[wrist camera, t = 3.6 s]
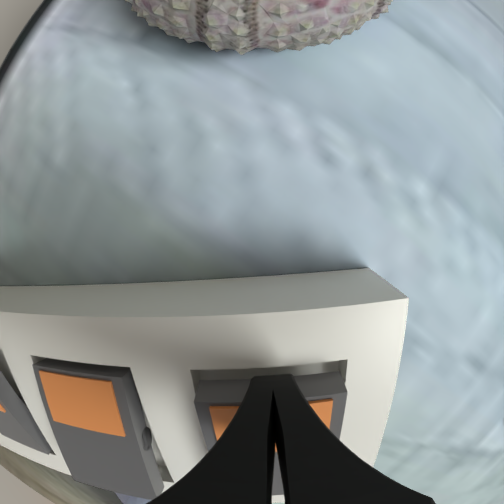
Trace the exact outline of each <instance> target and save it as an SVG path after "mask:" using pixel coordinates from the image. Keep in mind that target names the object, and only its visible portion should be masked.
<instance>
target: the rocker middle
mask: <svg viewBox="0 0 504 504" xmlns="http://www.w3.org/2000/svg"><path fill="white" fill-rule="evenodd" d="M32 366H33V370H34V374H35V378H36V381H37V385H38V389H39V392H40V395H41V399H42V402H43V405H44V408H45V411H46V414H47V417H48V420H49V423H50V426H51V428H52V431H53V434H54V436H55V439H56V441H57V444H58V446H59V449H60V451H61V453H62V456H63V458H64V460H65V462H66V465H67V467H68V469H69V471H70V473H71V475H72V477H73V479H74V480H75V481H78V482H81V483H84V484H87V485H91V486H94V487H97V488H101V489H104V490H108V491H112V492H116V493H120V494H124V495H129V496H133V497H138V498H143V499H149V500H153V499H154V498H156V497H157V496H159V495H160V494H162V491H163V489H164V484H163V481H162V478H161V475H160V472H159V468H158V465H157V462H156V459H155V455H154V452H153V448H152V445H151V444H152V434H151V431H150V429H149V427H147V426H146V422H145V418H144V414H143V410H142V405H141V401H140V397H139V394H138V391H137V388H136V385H135V382H134V379H133V375H132V372H131V369H130V367H120V366H109V365H98V364H89V363H80V362H72V361H65V360H58V359H52V358H45V359H43V360H41V361H39V362H37V363H35V364H32Z"/></svg>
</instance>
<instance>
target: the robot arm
mask: <svg viewBox="0 0 504 504" xmlns="http://www.w3.org/2000/svg"><path fill="white" fill-rule="evenodd" d="M275 447H276V448H277V454H278V460H279V466H280V473H281V479H282V485H283V491H284V499H285V504H436V503H435V502H434V500H433V499H432V498H431V497H428V496H426V495H423V494H421V493H418V492H416V491H414V490H411V489H409V488H407V487H405V486H403V485H401V484H399V483H398V482H396V481H394V480H392V479H390V478H389V477H387V476H385V475H384V474H382V473H381V472H379V471H378V470H376V469H375V468H373V467H372V466H370V465H369V464H367V463H366V462H365V461H363V460H362V459H361V458H359V457H358V456H357V455H356V454H355V453H353V452H352V451H351V450H350V449H349V448H348V447H346V446H345V445H344V444H343V443H342V442H341V441H340V440H339V439H338V438H337V437H336V436H335V435H334V434H333V433H332V432H331V431H330V430H329V428H328V427H327V426H326V425H325V424H324V423H323V422H322V420H321V419H320V418H319V417H318V415H317V414H316V413H315V411H314V410H313V408H312V407H311V406H310V404H309V403H308V401H307V400H306V398H305V397H304V395H303V394H302V392H301V390H300V388H299V387H298V385H297V383H296V381H295V378H294V376H293V375H292V374H279V375H264V376H254V377H252V378H251V381H250V384H249V387H248V390H247V392H246V394H245V396H244V399H243V401H242V403H241V404H240V406H239V408H238V410H237V412H236V414H235V415H234V417H233V419H232V420H231V422H230V423H229V425H228V426H227V428H226V429H225V431H224V432H223V434H222V435H221V437H220V438H219V439H218V441H217V442H216V443H215V444H214V446H213V447H212V448H211V449H210V450H209V452H208V453H207V454H206V455H205V456H204V457H203V458H202V459H201V460H200V461H199V462H198V463H197V464H196V465H195V466H194V467H193V468H192V469H191V470H190V471H189V472H188V473H187V474H186V475H185V476H184V477H182V478H181V479H180V480H179V481H178V482H176V483H175V484H174V485H172V486H171V487H170V488H168V489H167V490H166V491H164V492H163V493H162V494H160V495H159V496H157V497H156V498H154V499H153V500H149V499H143V498H138V497H133V496H129V495H124V494H120V493H116V492H115V494H116V495H117V496H118V498H119V499H120V500H121V502H122V503H123V504H272V487H273V475H274V462H275Z"/></svg>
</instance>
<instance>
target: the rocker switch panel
mask: <svg viewBox="0 0 504 504" xmlns="http://www.w3.org/2000/svg"><path fill="white" fill-rule="evenodd" d="M408 302H409V298H408V297H407V296H406V295H404V294H403V293H402V292H400V291H399V290H398V289H397V288H395V287H394V286H393V285H391V284H390V283H389V282H387V281H386V280H385V279H383V278H382V277H381V276H379V275H378V274H377V273H375V272H374V271H373V270H371V269H370V268H362V269H350V270H338V271H326V272H314V273H301V274H287V275H273V276H258V277H243V278H227V279H210V280H191V281H171V282H150V283H126V284H97V285H60V286H0V370H1V372H2V373H3V375H4V376H5V378H6V379H7V381H8V382H9V384H10V385H11V387H12V388H13V390H14V391H15V393H16V394H17V395H18V397H19V398H20V399H21V400H24V401H25V403H26V405H27V407H28V409H29V411H30V412H31V414H32V416H33V418H34V420H35V422H36V423H37V425H38V427H39V429H40V430H41V432H42V434H43V435H44V437H45V439H46V440H47V442H48V443H49V445H50V447H51V448H52V449H51V451H50V453H49V455H48V454H45V453H42V452H40V451H37V450H35V449H32V448H30V447H28V446H25V445H23V444H21V443H19V442H16V441H14V440H12V439H10V438H8V437H6V436H4V435H2V434H1V433H0V445H1V446H3V447H5V448H7V449H9V450H11V451H13V452H15V453H17V454H19V455H21V456H24V457H26V458H28V459H30V460H32V461H35V462H37V463H39V464H42V465H44V466H47V467H49V468H52V469H54V470H57V471H60V472H62V473H65V474H68V475H71V473H70V471H69V469H68V467H67V465H66V462H65V460H64V458H63V456H62V453H61V451H60V449H59V446H58V444H57V441H56V439H55V436H54V434H53V431H52V428H51V426H50V423H49V420H48V417H47V414H46V411H45V408H44V405H43V402H42V399H41V395H40V392H39V389H38V385H37V381H36V378H35V374H34V370H33V366H32V364H35V363H37V362H39V361H41V360H43V359H45V358H52V359H58V360H65V361H72V362H80V363H89V364H98V365H109V366H120V367H130V369H131V372H132V375H133V379H134V382H135V385H136V388H137V391H138V394H139V397H140V401H141V405H142V410H143V414H144V418H145V422H146V426H147V427H149V429H150V431H151V434H152V444H151V445H152V448H153V452H154V455H155V459H156V462H157V465H158V468H159V472H160V475H161V478H162V481H163V484H164V489H163V491H162V493H163V492H164V491H166V490H167V489H168V488H170V487H171V486H172V485H174V484H175V483H176V482H178V481H179V480H180V479H181V478H182V477H184V476H185V475H186V474H187V473H188V472H189V471H190V470H191V469H192V468H193V467H194V466H195V465H196V464H197V463H198V462H199V461H200V460H201V459H202V458H203V457H204V456H205V455H206V454H207V453H208V450H207V446H206V443H205V440H204V436H203V433H202V430H201V426H200V423H199V419H198V416H197V412H196V408H195V405H194V399H195V395H196V391H197V387H198V383H199V380H234V379H251V378H252V377H254V376H264V375H279V374H292V375H293V376H299V375H309V374H318V373H327V372H335V371H340V373H341V376H342V378H343V381H344V384H345V386H346V389H347V392H348V393H347V400H346V406H345V412H344V418H343V424H342V429H341V435H340V441H341V442H342V443H343V444H344V445H345V446H346V447H348V448H349V449H350V450H351V451H352V452H353V453H355V454H356V455H357V456H358V457H359V458H361V459H362V460H363V461H365V462H366V463H367V464H369V465H370V466H372V467H373V466H374V463H375V460H376V457H377V454H378V451H379V448H380V444H381V441H382V438H383V434H384V431H385V427H386V423H387V420H388V416H389V412H390V408H391V404H392V399H393V395H394V390H395V386H396V381H397V376H398V371H399V366H400V360H401V354H402V348H403V342H404V335H405V328H406V320H407V311H408ZM71 476H72V475H71ZM281 502H285V499H284V495H272V503H281Z"/></svg>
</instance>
